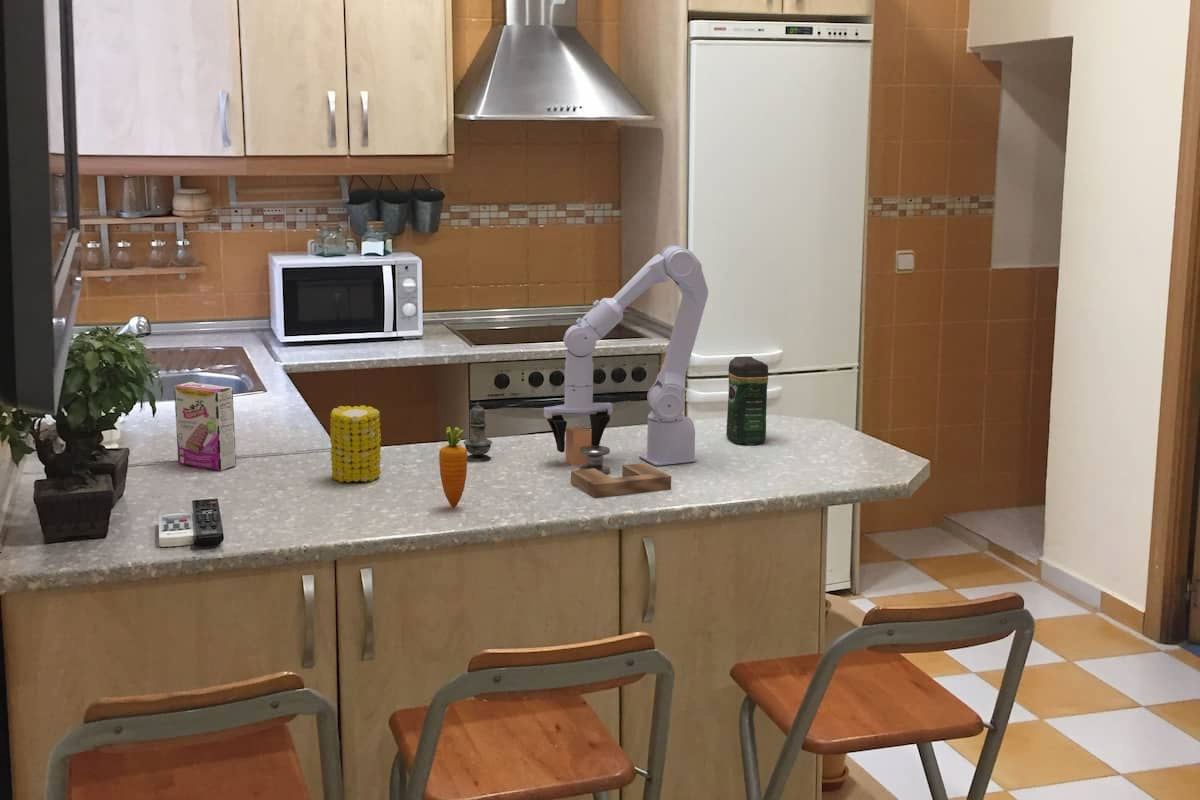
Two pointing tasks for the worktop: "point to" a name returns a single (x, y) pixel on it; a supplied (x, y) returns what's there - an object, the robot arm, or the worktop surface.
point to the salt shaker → (477, 436)
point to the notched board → (621, 481)
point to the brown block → (577, 444)
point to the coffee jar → (747, 400)
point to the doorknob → (595, 457)
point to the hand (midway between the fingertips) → (578, 449)
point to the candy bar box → (205, 426)
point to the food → (355, 443)
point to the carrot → (453, 467)
